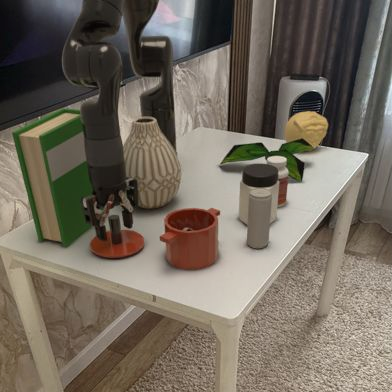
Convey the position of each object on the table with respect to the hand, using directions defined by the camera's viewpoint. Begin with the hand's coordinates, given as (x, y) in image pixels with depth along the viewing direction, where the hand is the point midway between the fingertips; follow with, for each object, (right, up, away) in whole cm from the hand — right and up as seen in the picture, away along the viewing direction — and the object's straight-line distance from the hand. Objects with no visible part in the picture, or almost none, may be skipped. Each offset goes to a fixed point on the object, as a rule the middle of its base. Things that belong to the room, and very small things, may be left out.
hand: (115, 233), depth 111 cm
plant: (+38, +27, +36) cm, 59 cm away
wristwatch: (+17, -4, -2) cm, 18 cm away
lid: (0, -2, +2) cm, 3 cm away
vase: (+6, +12, +19) cm, 24 cm away
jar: (+32, +6, +11) cm, 35 cm away
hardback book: (-11, +4, +10) cm, 15 cm away
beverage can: (+31, -2, +2) cm, 31 cm away
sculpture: (+51, +37, +47) cm, 79 cm away
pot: (+17, -5, -2) cm, 18 cm away
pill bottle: (+37, +12, +18) cm, 43 cm away
